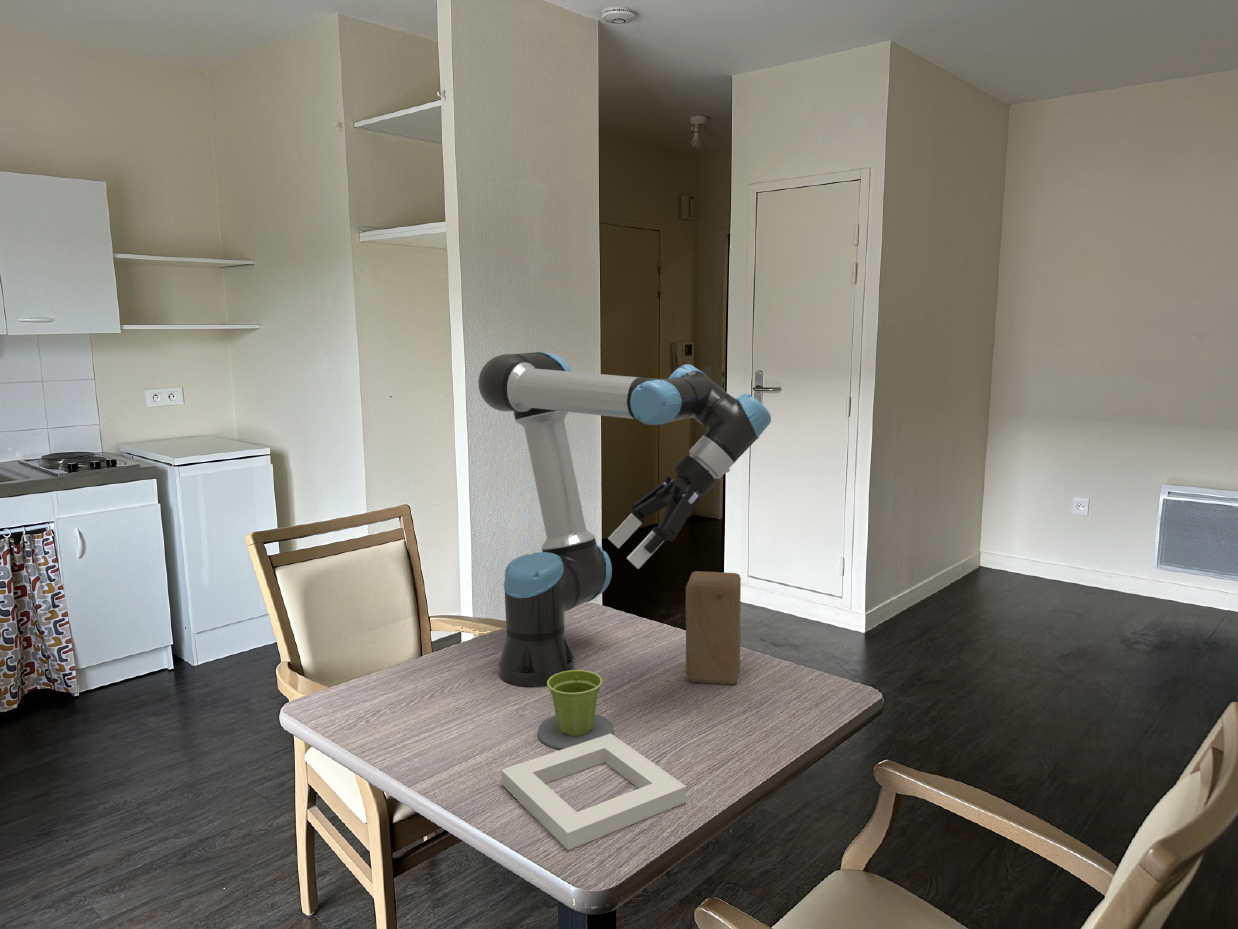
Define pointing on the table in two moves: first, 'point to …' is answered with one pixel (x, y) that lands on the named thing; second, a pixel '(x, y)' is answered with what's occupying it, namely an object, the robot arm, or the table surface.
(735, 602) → the wooden block
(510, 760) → the table surface
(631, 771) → the well board
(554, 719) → the mat
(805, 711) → the table surface
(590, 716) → the plant pot
